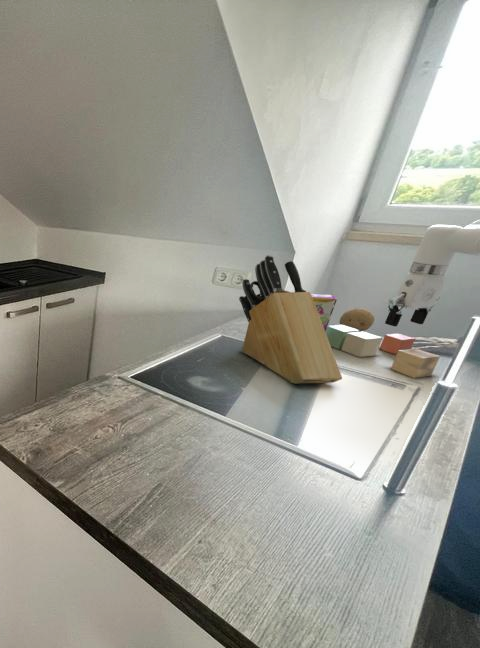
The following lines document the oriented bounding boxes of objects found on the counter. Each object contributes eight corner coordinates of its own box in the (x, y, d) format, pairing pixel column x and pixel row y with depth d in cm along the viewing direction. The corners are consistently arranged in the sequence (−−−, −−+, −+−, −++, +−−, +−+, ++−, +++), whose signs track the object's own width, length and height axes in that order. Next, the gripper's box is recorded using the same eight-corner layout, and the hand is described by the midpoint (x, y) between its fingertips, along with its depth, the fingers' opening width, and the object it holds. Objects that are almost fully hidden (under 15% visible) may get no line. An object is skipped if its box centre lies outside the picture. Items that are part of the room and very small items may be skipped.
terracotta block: (392, 347, 128) (398, 333, 126) (409, 353, 123) (415, 338, 121) (379, 348, 127) (385, 334, 125) (396, 354, 123) (402, 339, 121)
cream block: (356, 348, 128) (362, 331, 126) (375, 355, 123) (382, 337, 120) (341, 350, 127) (347, 332, 125) (359, 357, 122) (366, 339, 119)
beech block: (407, 367, 114) (415, 348, 112) (431, 375, 109) (440, 356, 107) (390, 369, 114) (398, 350, 111) (413, 377, 108) (422, 358, 106)
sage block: (336, 340, 134) (342, 324, 132) (353, 347, 129) (359, 330, 126) (321, 342, 133) (326, 325, 131) (338, 348, 128) (344, 331, 126)
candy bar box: (283, 342, 134) (296, 296, 128) (279, 337, 139) (292, 292, 132) (322, 345, 131) (338, 298, 124) (316, 340, 135) (331, 294, 129)
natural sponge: (360, 341, 133) (371, 313, 129) (330, 334, 140) (339, 307, 136) (372, 336, 137) (382, 309, 133) (341, 329, 145) (350, 303, 140)
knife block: (256, 341, 136) (280, 251, 124) (340, 388, 104) (383, 272, 91) (224, 342, 136) (245, 252, 123) (298, 389, 104) (336, 274, 91)
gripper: (418, 273, 110) (393, 330, 117) (467, 270, 113) (440, 326, 120) (390, 268, 117) (368, 322, 124) (436, 265, 119) (412, 318, 126)
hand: (403, 324), depth 122 cm, fingers open, 9 cm apart
